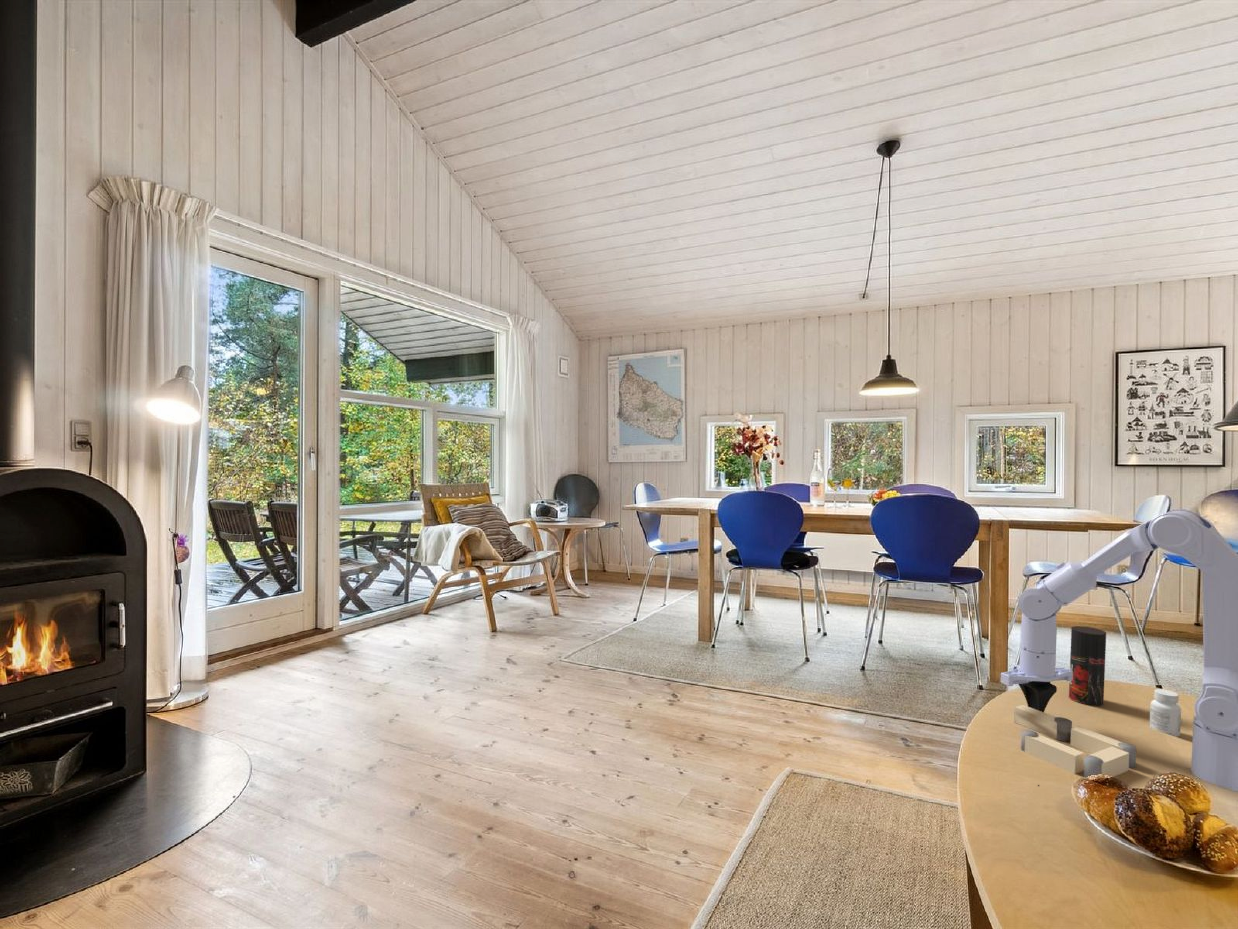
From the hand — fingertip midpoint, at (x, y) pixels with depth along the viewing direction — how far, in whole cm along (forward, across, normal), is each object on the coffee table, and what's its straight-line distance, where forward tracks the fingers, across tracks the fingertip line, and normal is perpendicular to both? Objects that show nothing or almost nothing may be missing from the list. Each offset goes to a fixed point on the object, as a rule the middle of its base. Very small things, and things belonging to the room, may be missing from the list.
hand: (1035, 719), depth 122 cm
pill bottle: (+2, -22, +7) cm, 23 cm away
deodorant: (+2, -21, -8) cm, 23 cm away
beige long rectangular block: (+1, +1, +3) cm, 4 cm away
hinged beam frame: (+1, +4, +13) cm, 13 cm away
